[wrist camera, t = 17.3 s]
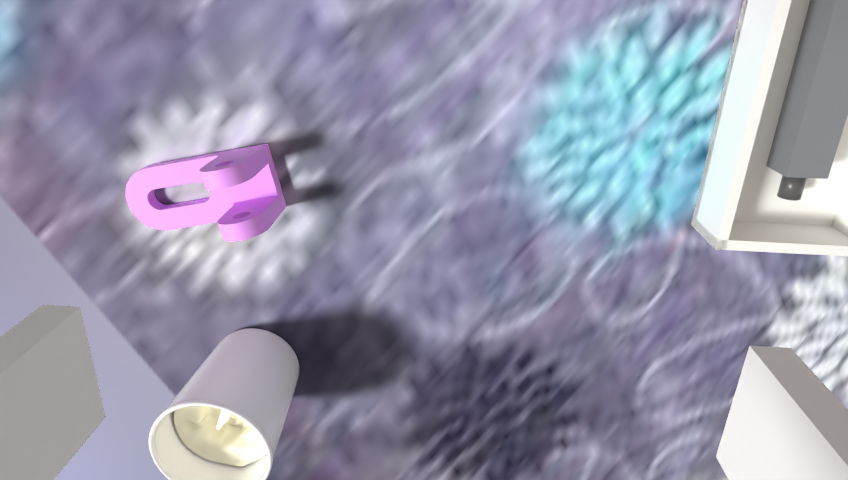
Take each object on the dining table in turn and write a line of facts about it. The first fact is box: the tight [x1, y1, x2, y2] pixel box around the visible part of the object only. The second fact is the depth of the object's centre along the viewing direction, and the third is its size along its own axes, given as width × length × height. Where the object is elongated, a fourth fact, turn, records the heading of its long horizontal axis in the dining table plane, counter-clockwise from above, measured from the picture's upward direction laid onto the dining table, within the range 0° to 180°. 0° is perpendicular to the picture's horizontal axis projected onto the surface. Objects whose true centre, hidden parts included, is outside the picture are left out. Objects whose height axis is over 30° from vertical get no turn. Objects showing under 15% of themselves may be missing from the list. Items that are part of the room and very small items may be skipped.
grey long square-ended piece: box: [766, 0, 848, 201], centre depth 40 cm, size 24×3×3 cm, turn 179°
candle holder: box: [149, 328, 299, 480], centre depth 51 cm, size 10×10×12 cm
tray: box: [691, 0, 848, 256], centre depth 40 cm, size 32×12×5 cm, turn 178°
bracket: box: [126, 143, 287, 241], centre depth 47 cm, size 13×6×7 cm, turn 101°
